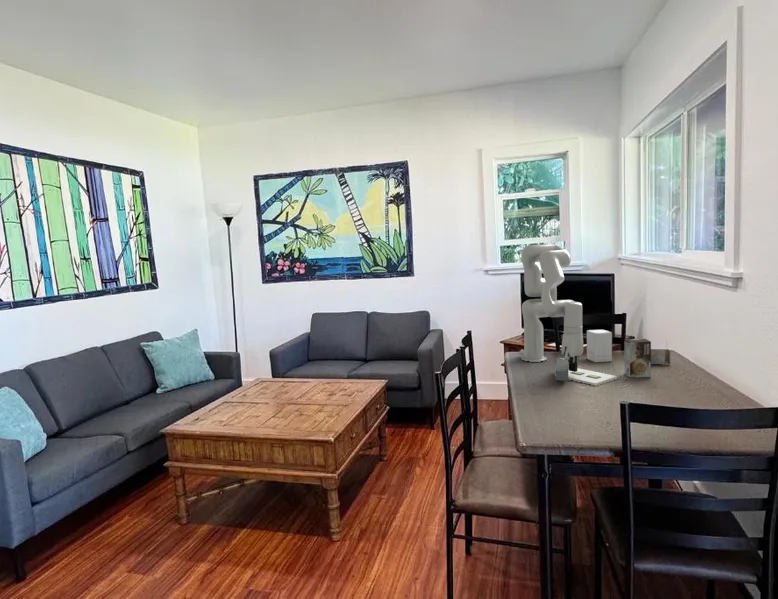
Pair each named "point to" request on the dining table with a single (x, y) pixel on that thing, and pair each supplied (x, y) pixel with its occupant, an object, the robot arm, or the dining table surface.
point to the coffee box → (637, 358)
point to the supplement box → (599, 345)
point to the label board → (590, 377)
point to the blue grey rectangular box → (660, 356)
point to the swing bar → (562, 369)
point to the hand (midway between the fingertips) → (573, 370)
